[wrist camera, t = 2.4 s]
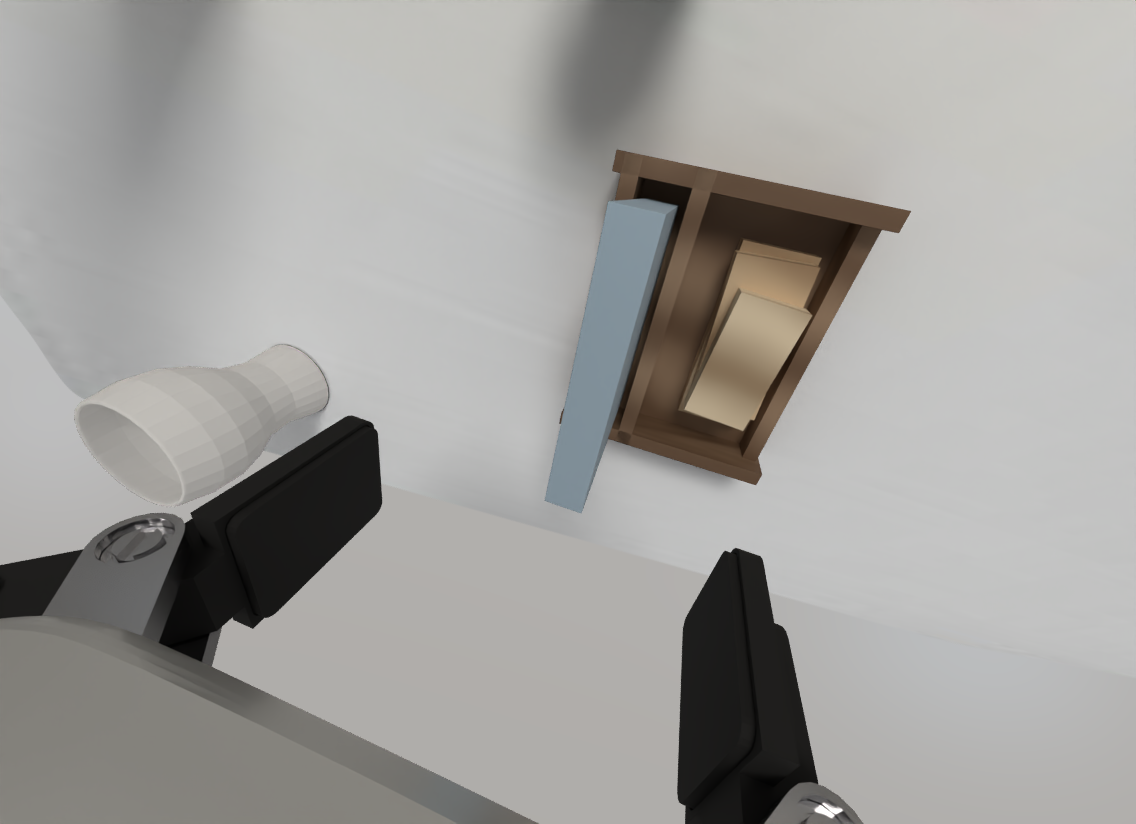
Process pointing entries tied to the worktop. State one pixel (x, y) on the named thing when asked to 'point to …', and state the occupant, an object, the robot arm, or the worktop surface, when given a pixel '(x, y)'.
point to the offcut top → (745, 357)
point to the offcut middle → (761, 287)
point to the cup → (196, 422)
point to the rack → (694, 281)
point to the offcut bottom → (743, 246)
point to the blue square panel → (608, 340)
